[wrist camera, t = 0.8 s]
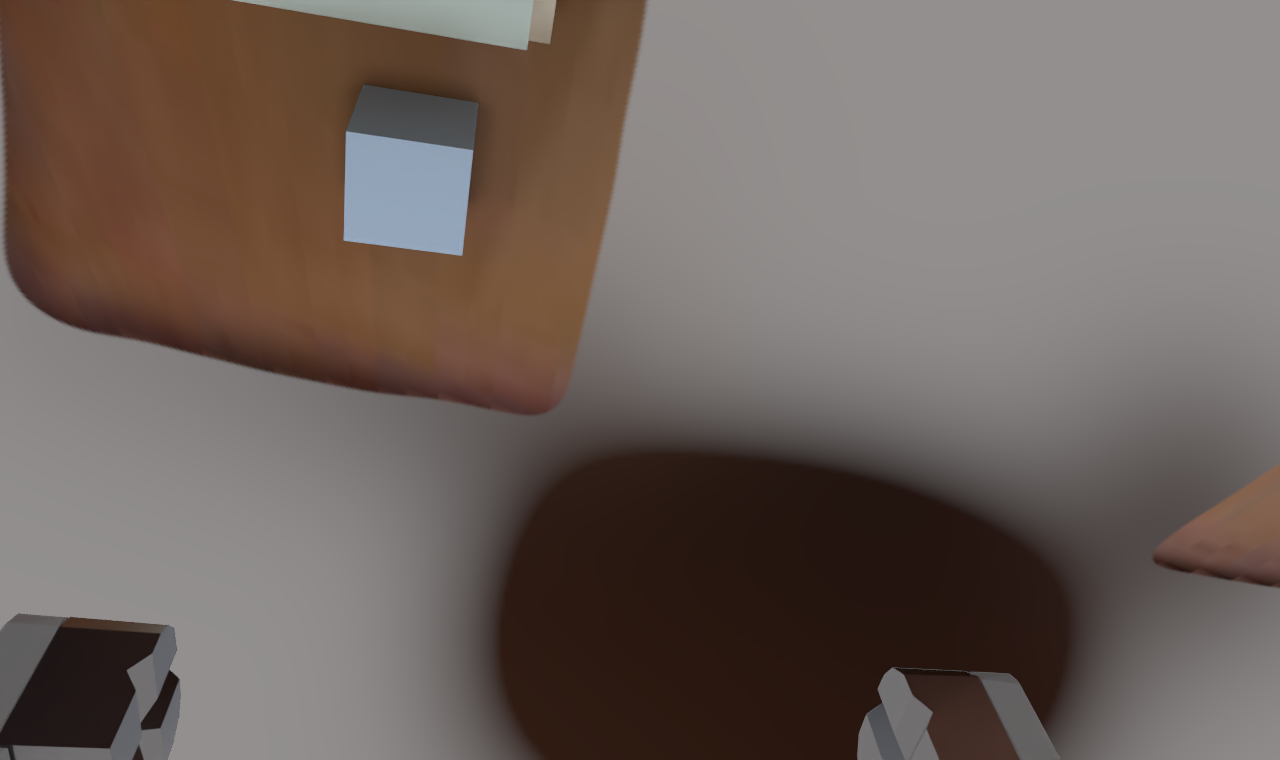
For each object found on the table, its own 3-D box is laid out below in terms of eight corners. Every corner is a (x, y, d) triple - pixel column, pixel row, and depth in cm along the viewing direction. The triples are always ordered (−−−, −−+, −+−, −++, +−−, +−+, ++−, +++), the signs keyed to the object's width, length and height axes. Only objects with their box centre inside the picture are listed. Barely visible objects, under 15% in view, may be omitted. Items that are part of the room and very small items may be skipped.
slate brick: (363, 83, 42) (345, 131, 38) (478, 102, 43) (473, 150, 39) (360, 186, 45) (343, 240, 41) (468, 201, 46) (461, 255, 42)
